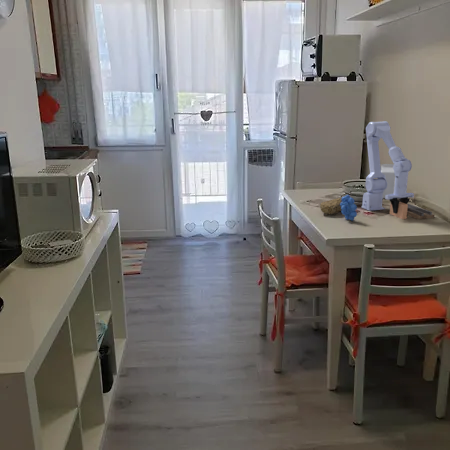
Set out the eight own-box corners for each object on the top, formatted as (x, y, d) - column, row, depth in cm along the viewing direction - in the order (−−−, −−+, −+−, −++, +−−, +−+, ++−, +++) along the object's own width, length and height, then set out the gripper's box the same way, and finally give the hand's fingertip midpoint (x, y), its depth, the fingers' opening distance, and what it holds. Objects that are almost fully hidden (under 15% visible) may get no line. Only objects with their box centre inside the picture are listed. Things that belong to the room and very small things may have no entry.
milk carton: (392, 198, 261) (395, 165, 256) (379, 198, 263) (382, 165, 257) (391, 196, 268) (393, 163, 262) (378, 195, 269) (380, 163, 264)
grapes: (332, 217, 225) (334, 193, 222) (344, 216, 228) (345, 192, 224) (347, 223, 215) (349, 198, 212) (359, 222, 217) (361, 197, 214)
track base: (418, 219, 220) (418, 213, 220) (395, 210, 237) (395, 204, 236) (434, 217, 223) (435, 211, 222) (410, 208, 239) (410, 203, 238)
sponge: (341, 209, 246) (310, 206, 238) (346, 195, 243) (315, 191, 235) (356, 219, 235) (324, 216, 227) (361, 205, 232) (329, 201, 224)
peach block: (402, 219, 221) (403, 204, 220) (389, 214, 231) (390, 200, 229) (406, 218, 222) (407, 204, 220) (393, 213, 231) (395, 200, 229)
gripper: (392, 187, 217) (390, 216, 220) (419, 185, 220) (416, 213, 224) (383, 185, 223) (381, 212, 227) (409, 183, 227) (407, 210, 231)
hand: (398, 212), depth 226 cm, fingers open, 3 cm apart
